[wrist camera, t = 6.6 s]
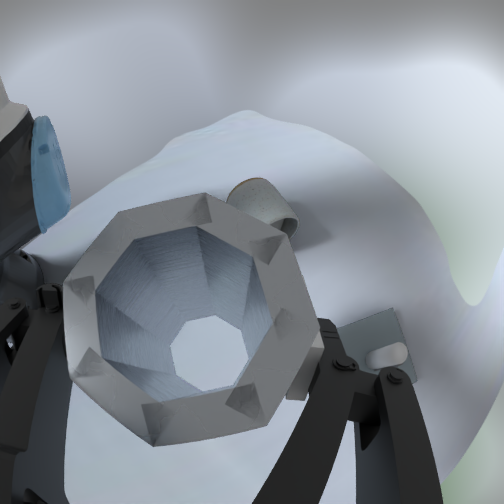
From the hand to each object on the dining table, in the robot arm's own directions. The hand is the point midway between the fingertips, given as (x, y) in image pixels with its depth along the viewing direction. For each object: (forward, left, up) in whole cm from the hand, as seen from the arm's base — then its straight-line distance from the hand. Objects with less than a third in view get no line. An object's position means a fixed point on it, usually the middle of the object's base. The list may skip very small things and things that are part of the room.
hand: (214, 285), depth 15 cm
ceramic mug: (-14, +7, -20) cm, 25 cm away
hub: (+3, -1, -4) cm, 5 cm away
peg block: (+8, +17, -19) cm, 27 cm away
